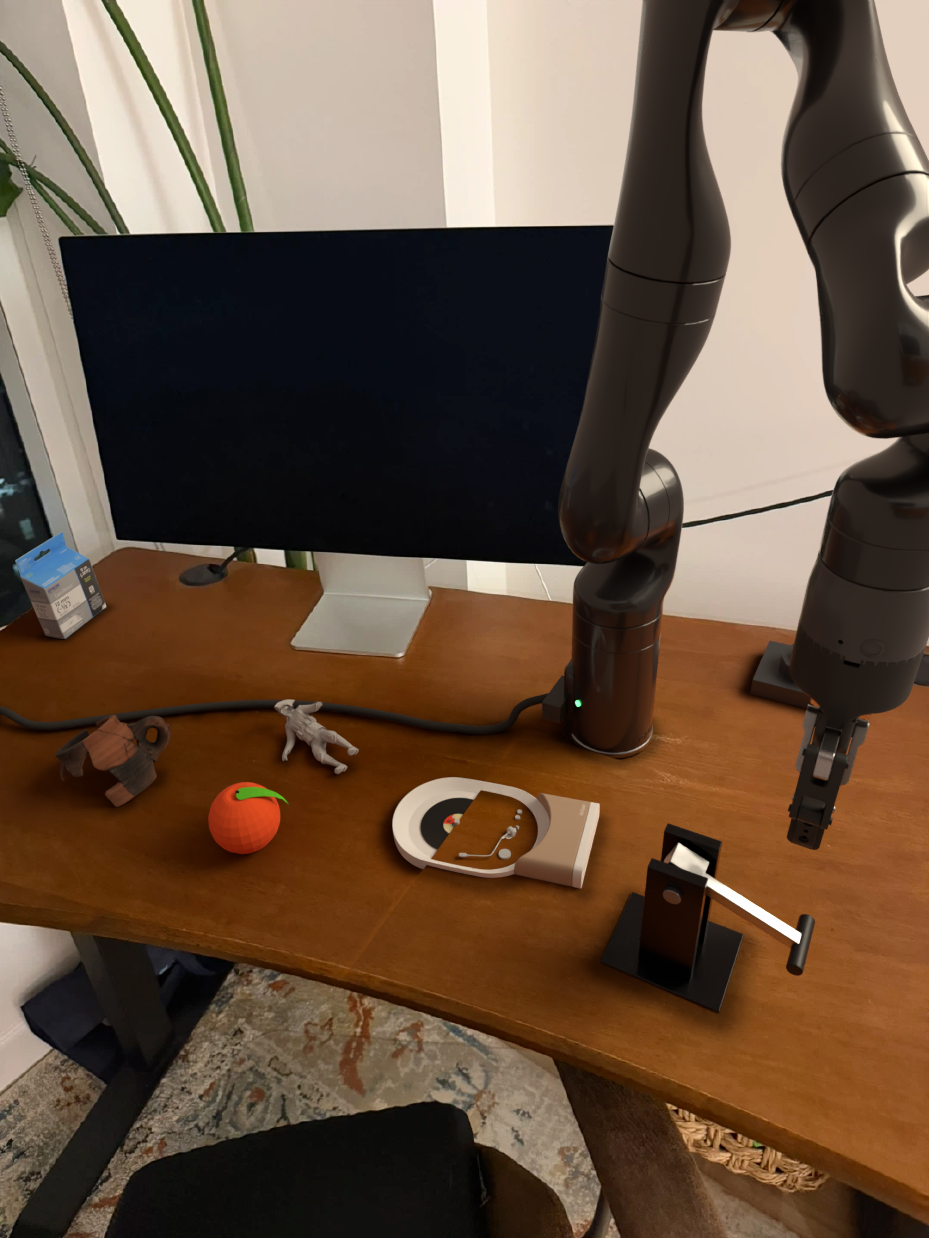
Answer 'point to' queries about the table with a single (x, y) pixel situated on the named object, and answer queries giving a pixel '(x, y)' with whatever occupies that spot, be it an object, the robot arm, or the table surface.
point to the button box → (778, 677)
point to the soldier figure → (311, 733)
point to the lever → (750, 909)
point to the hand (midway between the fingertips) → (814, 802)
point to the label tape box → (60, 587)
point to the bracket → (676, 928)
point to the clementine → (244, 817)
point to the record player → (551, 858)
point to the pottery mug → (118, 754)
